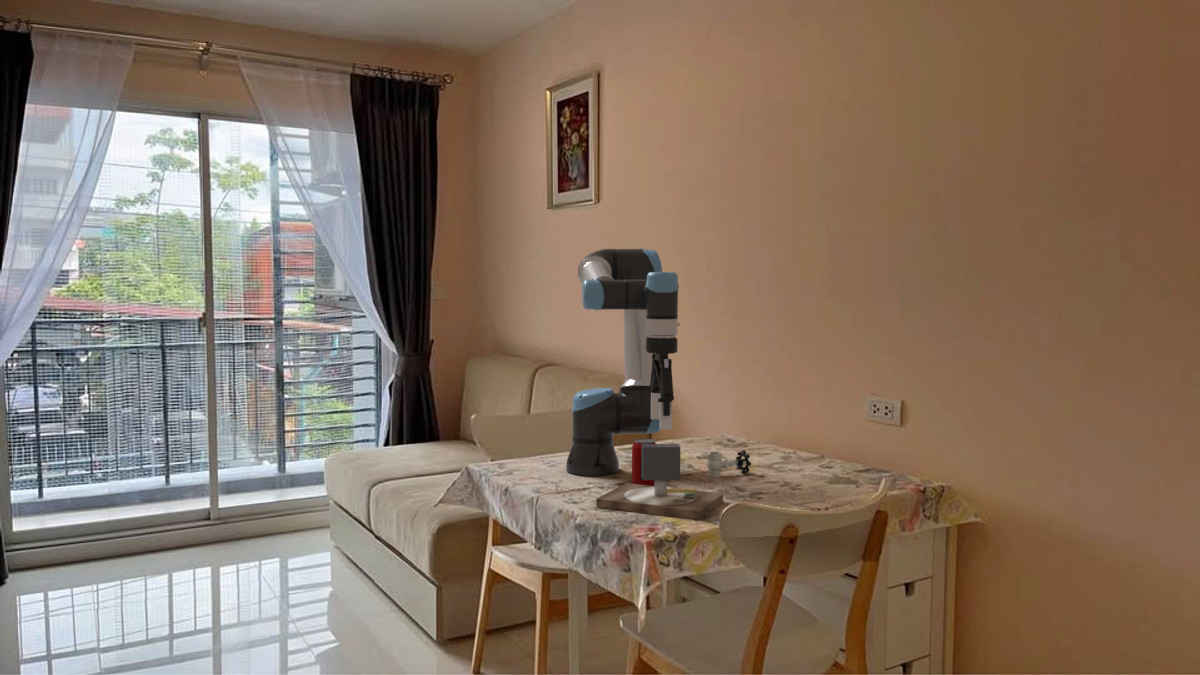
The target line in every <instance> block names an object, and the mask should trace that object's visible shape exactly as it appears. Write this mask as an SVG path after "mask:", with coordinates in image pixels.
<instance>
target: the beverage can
mask: <svg viewBox="0 0 1200 675" xmlns="http://www.w3.org/2000/svg"><path fill="white" fill-rule="evenodd" d="M642 444H657V443H656V440H655V439H654V438H653V439H651V438H636V439H635V440H634V442H633V443H632V446H631V484H639V485H648V486H654V481H655V480H643V479H642Z"/></svg>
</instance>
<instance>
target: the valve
mask: <svg viewBox="0 0 1200 675" xmlns="http://www.w3.org/2000/svg"><path fill="white" fill-rule="evenodd" d="M736 454H737V456H736V457H735V459H729V460H728V459H727V458H725V457H724V458H722V453H721V452H718V451H709V452H708V460H707V463H706V466H707V470H708V477H710V478H711V477H712V478H720V477H722V476H721V475H722V474H721V472H722V471H721V470H728V468H729V467H730V468H731V467H735V466H736V469H737V470H740V473H741V474H746V473H749V472H750V466H751V465H752V462H751V461H749V459H750V454H749V453H747V452H746V450H741V451H738V452H737V453H736Z"/></svg>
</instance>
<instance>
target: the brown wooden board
mask: <svg viewBox="0 0 1200 675" xmlns="http://www.w3.org/2000/svg"><path fill="white" fill-rule="evenodd" d="M667 489H683V488H682V487H679V486H673V487H670V486H667ZM595 500H596V502H595V504H596V505H595V507H596V508H601V509H610V510H618V511H619V510H620V511H626V512H635V513H643V514H649V515H650V514H651V515H657V516H667V517H675V518H682V519H689V520H690V519H691V520H698V521H699V520H702V519H703V518H704V517H706V516H707V515H708V514H709V513H711V512H712V511H713V510H715V509H716V508H718V506H720V505H721V504H722V503H723V502H724V493H721V492H711V491H702V490H696V493H667V495H666V496H656V495H654V486H648V485H639V484H633V483H628V482H625V483H623V484H621V485H620V486H618V487H617V486H616V488H614V489H612V490H610V491H608V492H607V493H605V494H603V495H600V496H599V497H597V498H596V499H595ZM715 507H716V508H715ZM712 509H713V510H712ZM711 510H712V511H711ZM710 511H711V512H710ZM708 512H709V513H708ZM707 513H708V514H707ZM706 514H707V515H706ZM705 515H706V516H705Z"/></svg>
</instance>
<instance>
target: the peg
mask: <svg viewBox="0 0 1200 675" xmlns="http://www.w3.org/2000/svg"><path fill="white" fill-rule="evenodd" d="M642 479H643V480H655V481H654V495H656V496H666V495H667V493H696V491H697V489H696V488H682V489H667V487H668V481H681V446H680V444H679V443H656V444H642Z"/></svg>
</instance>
